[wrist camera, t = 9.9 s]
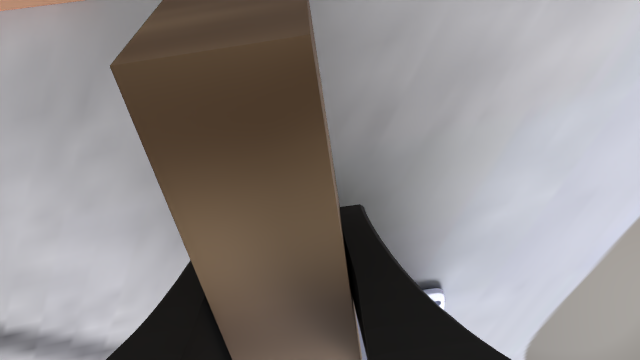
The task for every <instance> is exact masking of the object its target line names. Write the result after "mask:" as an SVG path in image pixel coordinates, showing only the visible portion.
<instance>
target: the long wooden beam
mask: <svg viewBox="0 0 640 360" xmlns="http://www.w3.org/2000/svg"><path fill="white" fill-rule="evenodd" d="M110 68H111V70H112V73H113V75H114V78H115V80H116V82H117V85H118V87H119V89H120V92H121V94H122V97H123V99H124V101H125V104H126V106H127V109H128V111H129V113H130V116H131V118H132V121H133V123H134V125H135V128H136V130H137V133H138V135H139V137H140V140H141V142H142V145H143V147H144V149H145V152H146V154H147V157H148V159H149V161H150V164H151V166H152V169H153V171H154V173H155V176H156V178H157V181H158V183H159V185H160V188H161V190H162V193H163V195H164V197H165V200H166V202H167V205H168V207H169V209H170V212H171V214H172V217H173V219H174V221H175V224H176V226H177V228H178V231H179V233H180V236H181V238H182V240H183V243H184V245H185V248H186V250H187V252H188V255H189V257H190V260H191V262H192V264H193V267H194V269H195V272H196V274H197V276H198V279H199V281H200V284H201V286H202V288H203V291H204V293H205V296H206V298H207V300H208V303H209V305H210V308H211V310H212V312H213V315H214V317H215V320H216V322H217V324H218V327H219V329H220V332H221V334H222V336H223V339H224V341H225V344H226V346H227V348H228V351H229V353H230V355H231V358H232V360H362V353H361V346H360V339H359V332H358V325H357V318H356V312H355V306H354V302H353V298H352V292H351V285H350V278H349V272H348V265H347V259H346V252H345V245H344V239H343V232H342V225H341V217H340V209H339V207H340V205H339V198H338V192H337V185H336V178H335V171H334V165H333V158H332V151H331V145H330V138H329V131H328V125H327V118H326V111H325V105H324V98H323V91H322V85H321V78H320V71H319V65H318V58H317V51H316V45H315V38H314V31H313V25H312V18H311V11H310V5H309V0H163V1H162V2H161V3H160V4H159V6H158V7H157V8H156V9H155V11H154V12H153V13H152V14H151V15H150V17H149V18H148V19H147V20H146V22H145V23H144V24H143V25H142V27H141V28H140V29H139V30H138V32H137V33H136V34H135V35H134V36H133V38H132V39H131V40H130V41H129V43H128V44H127V45H126V46H125V48H124V49H123V50H122V51H121V53H120V54H119V55H118V56H117V57H116V59H115V60H114V61H113V62H112V64H111V65H110Z"/></svg>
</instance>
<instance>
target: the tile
mask: <svg viewBox="0 0 640 360" xmlns="http://www.w3.org/2000/svg"><path fill="white" fill-rule="evenodd" d="M76 1H83V0H0V11H4V10H12V9H20V8H28V7H36V6H44V5H52V4H60V3H68V2H76Z"/></svg>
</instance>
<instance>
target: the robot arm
mask: <svg viewBox="0 0 640 360" xmlns="http://www.w3.org/2000/svg"><path fill="white" fill-rule="evenodd" d="M339 209H340V217H341V225H342V232H343V239H344V245H345V252H346V259H347V265H348V272H349V278H350V285H351V292H352V298H353V302H354V306H355V312H356V318H357V325H358V332H359V339H360V346H361V353H362V360H511V359H509V358H508V357H506V356H505V355H503V354H502V353H500V352H498V351H497V350H495V349H494V348H492V347H491V346H490V345H488V344H487V343H485V342H484V341H482V340H481V339H480V338H478V337H477V336H475V335H474V334H473V333H471V332H470V331H469V330H467V329H466V328H465V327H463V326H462V325H461V324H460V323H459V322H457V321H456V320H455V319H454V318H453V317H451V316H450V315H449V314H448V313H447V312H445V295H444V292H443V290H442V289H439V288H433V289H426V290H422V289H421V288H420V287H419V286H418V285H417V284H416V283H415V282H414V281H413V280H412V278H411V277H410V276H409V275H408V274H407V273H406V272H405V270H404V269H403V268H402V267H401V266H400V264H399V263H398V262H397V261H396V259H395V258H394V257H393V255H392V254H391V253H390V251H389V250H388V248H387V247H386V246H385V244H384V243H383V241H382V240H381V238H380V237H379V235H378V234H377V232H376V231H375V229H374V227H373V226H372V224H371V222H370V220H369V218H368V216H367V214H366V212H365V209H364V207H363V206H361V205H360V204H359V205H352V206H345V207H339ZM106 360H232V358H231V355H230V353H229V351H228V348H227V346H226V344H225V341H224V339H223V336H222V334H221V332H220V329H219V327H218V324H217V322H216V320H215V317H214V315H213V312H212V310H211V308H210V305H209V303H208V300H207V298H206V296H205V293H204V291H203V288H202V286H201V284H200V281H199V279H198V276H197V274H196V272H195V269H194V267H193V264H192V262H191V260H190V262H189V263H188V265H187V266H186V268H185V269H184V271H183V272H182V273H181V275H180V276H179V278H178V279H177V281H176V282H175V283H174V285H173V286H172V287H171V289H170V290H169V291H168V293H167V294H166V295H165V297H164V298H163V299H162V301H161V302H160V303H159V304H158V306H157V307H156V308H155V309H154V310H153V312H152V313H151V314H150V315H149V316H148V318H147V319H146V320H145V321H144V322H143V323H142V324H141V325H140V326H139V328H138V329H137V330H136V331H135V332H134V333H133V334H132V335H131V336H130V337H129V338H128V339H127V340H126V341H125V342H124V343H123V344H122V345H121V346H120V347H119V348H118V349H117V350H115V351H114V352H113V353H112V354H111V355H110V356H109V357H108V358H107V359H106Z"/></svg>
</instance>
